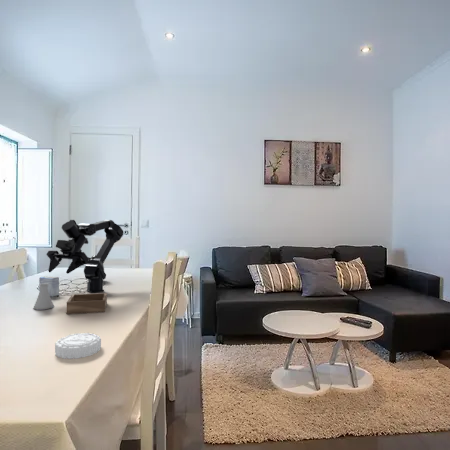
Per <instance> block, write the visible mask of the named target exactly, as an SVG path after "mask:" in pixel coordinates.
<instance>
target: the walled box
mask: <svg viewBox="0 0 450 450" xmlns="http://www.w3.org/2000/svg"><path fill="white" fill-rule="evenodd" d="M107 304H108V293H107V292H94V293H76V294H73V293H72V294H71V295H70V297H69V298H68V299H67V301H66V308H65V309H66V310H65V311H66V315H75V314H76V315H78V314H92V313H93V314H94V313H95V314H97V313H105V312H106V310H107V309H106V308H107Z"/></svg>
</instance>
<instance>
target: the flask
mask: <svg viewBox="0 0 450 450" xmlns="http://www.w3.org/2000/svg"><path fill="white" fill-rule="evenodd" d="M38 285H39V286H40V292H38V296H37V298H36V301H35V303H34V305H33V308H32V309H34V310H36V311H37V310H41V311H44V310H48V309H53V308H54V307H55V305H54V302H53V300H52V297H51V296H50V295H49V292H48V283H42V284H38ZM39 286H38V287H39Z"/></svg>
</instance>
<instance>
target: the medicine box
mask: <svg viewBox="0 0 450 450" xmlns="http://www.w3.org/2000/svg"><path fill="white" fill-rule="evenodd" d="M38 283H39V284H42V283H48V292H49V295H50V298H52V297H56V296H59V295H60V277H59V276H51V275H45V276H41V277H39V279H38ZM39 284H38V285H39ZM38 288H39V292H40V286H38ZM39 292H38V293H39Z"/></svg>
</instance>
